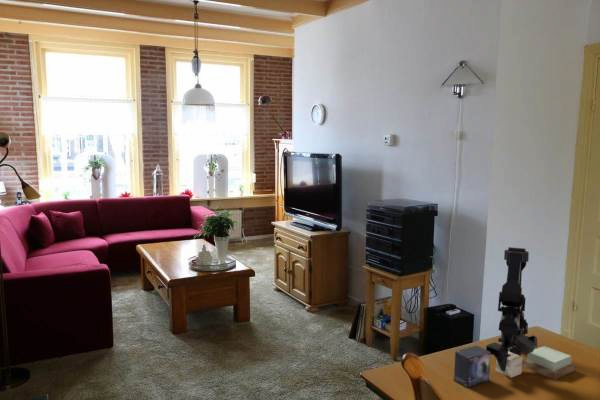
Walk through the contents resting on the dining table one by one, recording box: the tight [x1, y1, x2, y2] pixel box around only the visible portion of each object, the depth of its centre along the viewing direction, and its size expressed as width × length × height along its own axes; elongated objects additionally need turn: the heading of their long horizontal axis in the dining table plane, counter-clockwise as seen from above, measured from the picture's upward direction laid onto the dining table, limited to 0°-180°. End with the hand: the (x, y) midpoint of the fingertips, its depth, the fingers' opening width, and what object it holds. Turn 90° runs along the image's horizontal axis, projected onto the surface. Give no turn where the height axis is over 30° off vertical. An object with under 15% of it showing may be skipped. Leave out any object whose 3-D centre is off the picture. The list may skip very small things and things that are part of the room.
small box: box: [453, 345, 492, 389], centre depth 160 cm, size 11×6×10 cm, turn 117°
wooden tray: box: [522, 357, 575, 380], centre depth 169 cm, size 12×12×3 cm
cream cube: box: [495, 350, 523, 379], centre depth 167 cm, size 6×6×6 cm
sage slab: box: [526, 345, 572, 371], centre depth 169 cm, size 10×10×3 cm
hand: (508, 368), depth 167 cm, fingers closed on cream cube, 6 cm apart
